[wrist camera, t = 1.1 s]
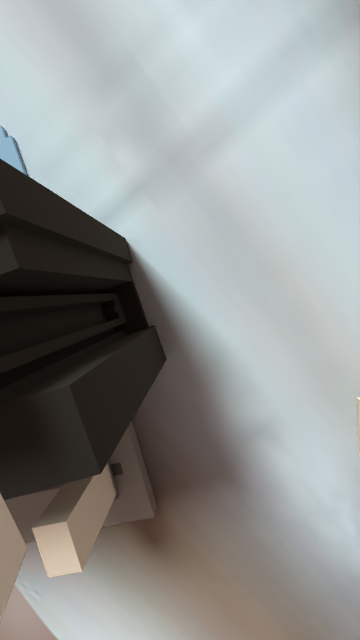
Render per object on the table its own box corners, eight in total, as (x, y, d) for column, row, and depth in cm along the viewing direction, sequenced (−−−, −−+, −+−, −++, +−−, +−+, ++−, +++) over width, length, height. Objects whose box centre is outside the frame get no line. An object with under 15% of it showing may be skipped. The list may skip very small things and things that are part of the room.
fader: (119, 494, 34) (84, 578, 24) (94, 500, 35) (50, 584, 25) (105, 448, 34) (63, 514, 24) (80, 454, 34) (29, 521, 24)
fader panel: (156, 505, 37) (154, 517, 35) (-14, 539, 39) (-26, 552, 37) (129, 411, 36) (124, 418, 34) (-43, 452, 38) (-57, 461, 36)
